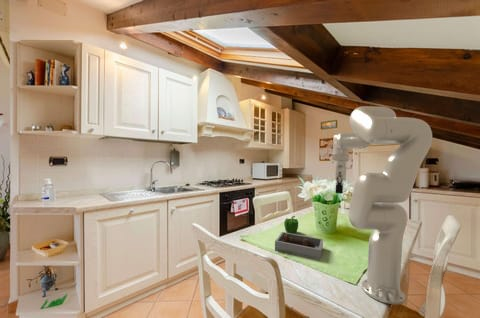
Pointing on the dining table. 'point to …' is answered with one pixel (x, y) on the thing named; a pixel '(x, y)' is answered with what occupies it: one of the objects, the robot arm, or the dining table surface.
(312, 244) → the bolt
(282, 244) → the tray
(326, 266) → the dining table surface
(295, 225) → the bell pepper
